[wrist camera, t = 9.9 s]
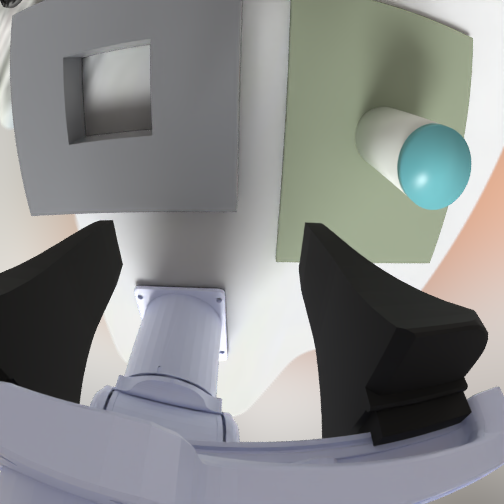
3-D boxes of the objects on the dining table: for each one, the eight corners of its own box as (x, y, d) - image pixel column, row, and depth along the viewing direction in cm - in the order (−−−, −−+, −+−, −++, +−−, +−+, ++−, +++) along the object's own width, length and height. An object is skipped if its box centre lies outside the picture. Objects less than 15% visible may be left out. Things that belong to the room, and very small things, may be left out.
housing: (237, 197, 21) (236, 212, 19) (47, 202, 21) (31, 215, 19) (243, -27, 13) (242, -40, 10) (31, 17, 12) (12, 15, 10)
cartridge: (421, 131, 18) (482, 160, 12) (389, 178, 20) (439, 224, 14) (376, 93, 16) (434, 107, 11) (343, 146, 19) (385, 181, 13)
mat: (426, 259, 24) (429, 263, 24) (275, 257, 24) (276, 261, 23) (468, 38, 14) (472, 38, 13) (290, -12, 13) (292, -15, 13)
